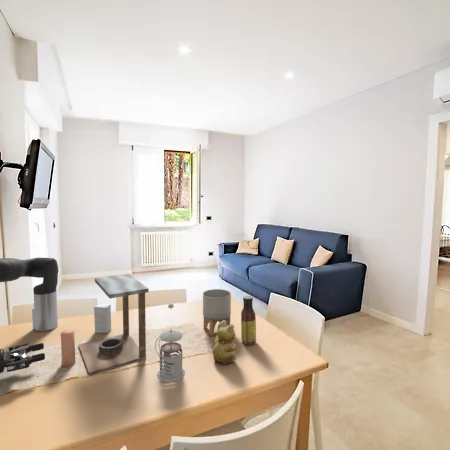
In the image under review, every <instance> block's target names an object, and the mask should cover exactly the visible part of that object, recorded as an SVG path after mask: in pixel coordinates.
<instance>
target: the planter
mask: <svg viewBox="0 0 450 450" xmlns="http://www.w3.org/2000/svg"><path fill="white" fill-rule="evenodd" d="M231 308H232V293H231V291H229V290H226V289H221V288H219V289H217V288H216V289H215V288H213V289H208V290H204V291H203V292H202V316H203V330H207V329H208V328H209V331H208V332H209V333H208V334H209V337H214V336H215V335H214V333H215V329H216V328H215V327H216V325H217V322H218V324H219V323H220V322H222V321H223V320H225V321H226V323H227V325H228V326H229V325H231V314H232V309H231ZM208 326H209V327H208Z"/></svg>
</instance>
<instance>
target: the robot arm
mask: <svg viewBox="0 0 450 450" xmlns="http://www.w3.org/2000/svg"><path fill="white" fill-rule="evenodd" d="M58 276H59V265H58V261H57V260H56V259H55V258H53V257H34V258H28V259H20V258H13V257H12V258H11V257H7V258H3V257H2V258H0V283H6V282H8V283H9V282H12V281H13V282H14V281H16V280H18V279H20V278H22V277H25V278H26V277H29V278H40V279H41V278H43V279H42V283H40V284H36V285H35V286H33V290H32V292H33V293H32V295H33V309H32V310H31V314H32V315H31V317H32V330H33V329H35V330H34V331H36V332H48V331H52V330H53V329H56V328H57V327H58V326H59V324H58V323H59V322H58V297H57V296H58V295H57V294H58V293H57V286H58V280H59V279H58V278H59V277H58ZM44 345H45V344H44V342H40V343H39V342H38V343H35V344H30V343H29V342H25V343H21V344H16V345H13V346H9V347H8V351H6V352H5V350H4V348H0V374H3V373H4V371H5V368H6V372H7V373H12V372H16V371H18V370H23V369H27V368H29V367H30V365H32V364H33V363H38V362H41V361H44V360H45V358H46V356H45V355H46V353H44V352H42V353H37V354H31V355H28V354H30V353H32V352H37V351H42V350H44V348H45V346H44Z"/></svg>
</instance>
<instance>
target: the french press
mask: <svg viewBox="0 0 450 450" xmlns="http://www.w3.org/2000/svg"><path fill="white" fill-rule="evenodd" d="M167 307H168V309H173V308H174V307H175V306H174V304H173V303H169V304H168V306H167ZM183 337H184V334H183V332H182V331H179V330H176V329H167V330H165V331H162V332H161V333H160V334H159V336H158V338H157V339H156V340H155V342H154V343H155V345H154V348H155V352H156V354H157V355H158V357H159V370H158V371H157V374H156V377H157V379H158V380H159V381H161V382H165V383H174V382H178V381H180V380H181V379H183V378H184V376H185V375H186V370H185V369H184V368H183V348H182V345H181V343H179V342H177V341H180V340H181V339H182V338H183ZM160 341H161V342H165V343H164V344H162V345H161V346H160V345H158V348H159V352H158V351H157V342H160Z"/></svg>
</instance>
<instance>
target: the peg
mask: <svg viewBox="0 0 450 450" xmlns="http://www.w3.org/2000/svg"><path fill="white" fill-rule="evenodd" d="M75 339H76V337H75V329H70V328H69V329H63V330H62V331H61V332H60V348H61V351H60V352H61V366H62V367H63V368H64V367H66V368H67V367H72V366H73V365H75V364H76V347H75V346H76V341H75Z"/></svg>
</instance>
